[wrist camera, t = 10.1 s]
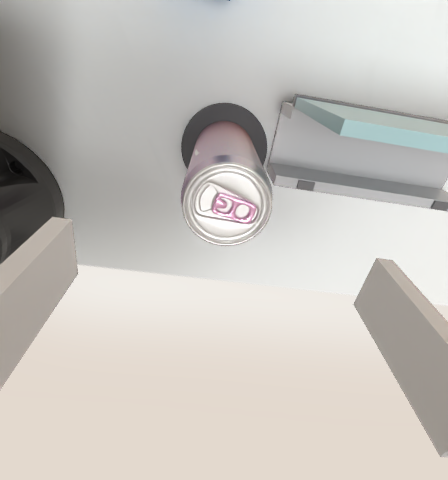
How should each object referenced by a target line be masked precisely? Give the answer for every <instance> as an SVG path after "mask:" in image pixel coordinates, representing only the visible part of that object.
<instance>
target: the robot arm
mask: <svg viewBox="0 0 448 480" xmlns="http://www.w3.org/2000/svg"><path fill="white" fill-rule="evenodd" d="M63 214H64V206H63V199H62V195H61V192H60V189H59V187H58V185H57V182H56V180H55V179H54V177H53V175H52V174H51V172H50V171H49V169H48V168H47V167H46V165H45V164H44V163H43V162H42V161H41V160H40V159H39V158H38V157H37V156H36V155H35V154H34V153H33V152H32V151H31V150H30V149H28V148H27V147H26V146H24V145H23V144H22V143H20V142H19V141H17V140H15V139H14V138H12V137H10V136H8V135H6V134H4V133H2V132H0V389H1V388H2V387H3V385H4V384H5V382H6V381H7V379H8V378H9V376H10V375H11V373H12V371H13V370H14V368H15V367H16V366H17V364H18V363H19V361H20V360H21V358H22V357H23V355H24V354H25V352H26V351H27V349H28V348H29V346H30V345H31V343H32V342H33V340H34V339H35V337H36V336H37V334H38V333H39V331H40V329H41V328H42V327H43V325H44V324H45V322H46V321H47V319H48V318H49V316H50V315H51V313H52V312H53V310H54V309H55V307H56V306H57V304H58V303H59V301H60V300H61V298H62V297H63V295H64V294H65V292H66V291H67V289H68V288H69V286H70V285H71V283H72V282H73V280H74V279H75V277H76V276H77V274H78V269H77V260H76V251H75V242H74V233H73V223H72V219H65V218H63ZM354 306H355V308H356V310H357V311H358V313H359V315H360V316H361V318H362V320H363V322H364V324H365V325H366V327H367V329H368V331H369V332H370V334H371V336H372V338H373V339H374V341H375V343H376V344H377V346H378V348H379V350H380V351H381V353H382V355H383V357H384V359H385V360H386V362H387V364H388V366H389V367H390V369H391V371H392V373H393V375H394V376H395V378H396V380H397V381H398V383H399V385H400V387H401V389H402V390H403V392H404V394H405V396H406V397H407V399H408V401H409V403H410V404H411V406H412V408H413V409H414V411H415V413H416V415H417V417H418V418H419V420H420V422H421V424H422V426H423V427H424V429H425V431H426V433H427V434H428V436H429V438H430V440H431V441H432V443H433V445H434V446H435V448H436V450H437V452H438V454H439V455H440V457H448V322H447V321H446V319H445V318H444V317H443V316H442V315H441V314H440V313H439V312H438V310H437V309H436V308H435V307H434V306H433V305H432V304H431V303H430V301H429V300H428V299H427V298H426V297H425V296H424V295H423V294H422V293H421V291H420V290H419V289H418V288H417V287H416V286H415V285H414V284H413V283H412V281H411V280H410V279H409V278H408V277H407V276H406V275H405V274H404V273H403V271H402V270H401V269H400V268H399V267H398V266H397V265H396V264H395V262H394V261H393V260H387V259H379V258H376V260H375V262H374V264H373V266H372V268H371V270H370V272H369V274H368V276H367V278H366V280H365V282H364V284H363V286H362V288H361V290H360V292H359V294H358V296H357V299H356V300H355V302H354Z"/></svg>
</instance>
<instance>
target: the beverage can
mask: <svg viewBox="0 0 448 480" xmlns="http://www.w3.org/2000/svg"><path fill="white" fill-rule="evenodd" d="M181 204H182V210H183V215H184V218H185V220H186V222H187V224H188V226H189V227H190V229H191V230H192V231H193V232H194V233H195V234H196V235H197V236H198V237H200V238H201V239H203V240H205V241H207V242H209V243H212V244H216V245H222V246H231V245H237V244H241V243H244V242H246V241H248V240H250V239H252V238H253V237H255V236H256V235H257V234H258V233H260V232H261V230H262V229H263V228H264V227H265V225H266V224H267V222H268V220H269V217H270V214H271V209H272V188H271V185H270V182H269V180H268V177H267V175H266V173H265V171H264V168H263V166H262V164H261V161H260V159H259V157H258V155H257V152H256V150H255V148H254V145H253V143H252V141H251V139H250V136H249V135H248V133H247V132H246V131H245V130H244V129H243V128H242V127H241V126H240V125H238V124H236V123H234V122H230V121H218V122H214V123H212V124H210V125H208V126H207V127H206V128H205V129H204V130H203V131H202V132H201V133H200V135H199V136H198V138H197V141H196V144H195V148H194V151H193V154H192V157H191V161H190V164H189V167H188V170H187V174H186V177H185V180H184V183H183V187H182V191H181Z"/></svg>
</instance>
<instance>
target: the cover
mask: <svg viewBox="0 0 448 480" xmlns="http://www.w3.org/2000/svg"><path fill="white" fill-rule="evenodd" d="M292 106H293V107H294V108H296V109H297V110H299V111H301V112H302V113H304V114H306V115H307V116H309V117H310V118H312V119H314V120H315V121H317V122H319V123H320V124H322V125H324V126H325V127H327V128H328V129H330V130H332V131H333V132H335V133H337V134H338V135H341V136H347V137H353V138H359V139H365V140H371V141H377V142H383V143H388V144H394V145H400V146H406V147H412V148H418V149H424V150H430V151H436V152H442V153H448V121H445V120H439V119H434V118H428V117H423V116H417V115H411V114H406V113H400V112H395V111H389V110H383V109H378V108H372V107H367V106H361V105H355V104H350V103H344V102H339V101H333V100H327V99H322V98H316V97H311V96H305V95H299V94H295V96H294V99H293V104H292Z"/></svg>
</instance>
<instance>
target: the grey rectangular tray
mask: <svg viewBox="0 0 448 480" xmlns="http://www.w3.org/2000/svg"><path fill="white" fill-rule="evenodd" d="M292 104H293V103H290V102H284V101H283V102H282V107H281V111H280V115H279V120H278V124H277V128H276V132H275V137H274V141H273V145H272V150H271V154H270V158H269V162H268V167H267V171H268V174H269V176H270V178H271V180H272V182H273V185H274V186H281V187H288V188H294V189H301V190H308V191H315V192H321V193H328V194H335V195H341V196H348V197H355V198H362V199H368V200H375V201H382V202H388V203H395V204H402V205H408V206H415V207H422V208H429V209H435V210H442V211H448V193H447V192H446V191H444V190H442V188H443V186H444V184H445V182H446V180H447V178H448V153H442V152H436V151H430V150H424V149H418V148H412V147H406V146H400V145H394V144H388V143H383V142H377V141H371V140H365V139H359V138H353V137H347V136H341V135H338V134H337V133H335V132H333V131H332V130H330V129H328V128H327V127H325V126H324V125H322V124H320V123H319V122H317V121H315V120H314V119H312V118H310V117H309V116H307V115H306V114H304V113H302V112H301V111H299V110H297V109H296V108H294V107H293V106H292Z"/></svg>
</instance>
